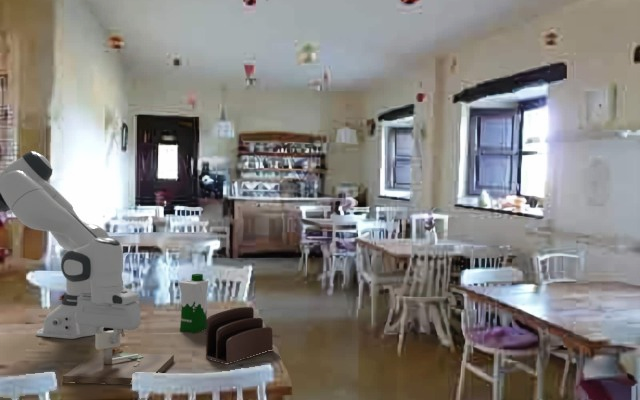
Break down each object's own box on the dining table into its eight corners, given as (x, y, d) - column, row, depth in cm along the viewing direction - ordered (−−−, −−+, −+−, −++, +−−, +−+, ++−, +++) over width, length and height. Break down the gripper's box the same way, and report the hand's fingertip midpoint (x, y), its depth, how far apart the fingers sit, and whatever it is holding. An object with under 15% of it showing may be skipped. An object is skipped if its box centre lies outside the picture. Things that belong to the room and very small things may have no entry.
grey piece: (98, 366, 177) (98, 334, 176) (95, 364, 178) (95, 332, 178) (139, 358, 184) (139, 328, 184) (136, 356, 186) (136, 326, 186)
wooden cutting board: (62, 383, 169) (62, 374, 169) (97, 358, 191) (97, 351, 191) (149, 385, 168) (149, 377, 168) (173, 361, 190) (173, 353, 189)
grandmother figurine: (127, 349, 201) (127, 310, 200) (124, 353, 197) (124, 313, 197) (103, 349, 201) (103, 310, 200) (99, 353, 197) (99, 313, 196)
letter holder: (205, 359, 193) (205, 314, 192) (251, 345, 208) (252, 303, 207) (227, 365, 186) (227, 319, 185) (273, 351, 201) (273, 308, 201)
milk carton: (210, 328, 229) (210, 274, 228) (195, 334, 221) (195, 278, 220) (192, 325, 233) (192, 272, 232) (175, 331, 225) (175, 276, 224)
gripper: (70, 293, 179) (70, 341, 180) (130, 299, 172) (130, 348, 173) (85, 290, 185) (85, 336, 186) (143, 295, 178) (143, 342, 179)
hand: (107, 342), depth 179 cm, fingers closed on grey piece, 3 cm apart
